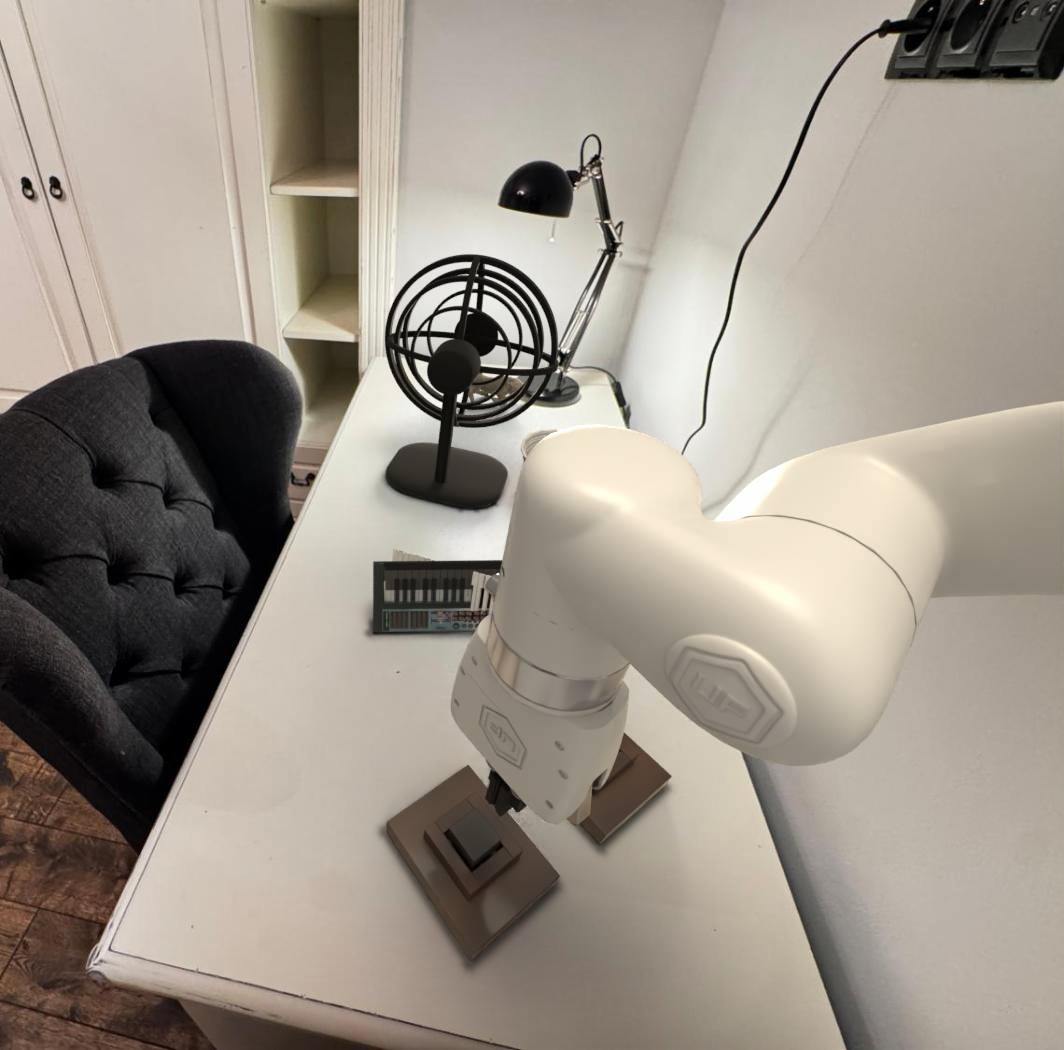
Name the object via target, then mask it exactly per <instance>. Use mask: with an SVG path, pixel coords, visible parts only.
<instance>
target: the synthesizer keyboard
mask: <svg viewBox="0 0 1064 1050" xmlns="http://www.w3.org/2000/svg"><path fill="white" fill-rule="evenodd" d="M501 565H502V559H488V560H487V559H486V560H485V559H484V560H483V559H478V560H477V559H476V560H473V559H471V560H468V559H467V560H434V559H431V558H427V557H425V556H420V555H417V554H413V553H409V552H406V551H402V550H398V549H396V548H395V549H393V551H392V560H384V561H383V560H382V561H381V560H380V561H379V560H376V561H374V560H373V561H372V603H373V604H372V615H373V616H372V633H423V632H424V633H428V632H429V633H431V632H432V633H433V632H437V633H439V632H440V633H441V632H442V633H443V632H475V631H476V629H477V627H478V625H479V624H480V622H481V621H482V620H483V619H484V618H485V617H486V616H488V615H490V614H492V610H493V605H494V602H493V599H492V595H491V594H490V593H488V592H487V591H486V590H485V585H486V582H487V581H488V579H489V578H490V577H491V576H493V575H494V574H497V573H499V574H500V570H501Z"/></svg>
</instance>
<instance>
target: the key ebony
mask: <svg viewBox="0 0 1064 1050" xmlns="http://www.w3.org/2000/svg"><path fill="white" fill-rule="evenodd" d="M448 838H449V839H450V840H451V842H452V843H453V844H454V846H455V847H456V849H457V850H458V851H459V853H460V854H461V856H462V857H463V858H464V860H465V861H466V862H467V864H468V865H469V867H470V868H471V869H472V868H473V867H475V866H476V865H477V864H478V863H480V862H481V861H482V860H483V859H485V858H486V857H487V856H488V855H490V854H491V853H492V852H493V851H494V850H496V849H497V848H498V847H499V845H500V842H501V840H502V839H501V837H500V836H499V835H498V834H497V832H496V831H495V830H494V829H493V827H492V826H491V825H490V824H489V822H488V821H487V820H486V818H485V817H484V816H483V815H482V813H481V812H480V811H479V810H478V808H475V809H474V810H472V811H471V812H470V813H468V814H467V815H466V816H464V817H463V818H462V819H460V820H459V821H458V822H456V823H455V824H454V825H452V826H451V827H450V828H449V831H448Z"/></svg>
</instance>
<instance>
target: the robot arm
mask: <svg viewBox="0 0 1064 1050" xmlns="http://www.w3.org/2000/svg"><path fill="white" fill-rule="evenodd" d="M559 430H560V431H557V432H555V433H552V434H550V435H548V436H547V437H545V438H544V439H542V440H541V441H540V442H538V443H537V444H536V445H535V446H534V447H533V449H532V450H531V451H530V452H529V454H528V455H527V457H526V459H525V461H524V460H523V462H524V463H523V462H522V465H521V469H520V472H519V476H518V480H517V483H516V489H515V494H514V500H513V504H512V510H511V514H510V520H509V524H508V529H507V535H506V540H505V544H504V549H503V553H502V554H503V555H502V559H501V560H502V565H501V570H500V574H499V573H497V574H494V575H493V576H491V577H490V578H489V579H488V581H487V582H486V585H485V590H486V591H487V592H488V593H490V594H491V595H492V599H493V602H494V605H493V610H492V614H490V615H488V616H486V617H485V618H484V619H483V620H482V621H481V622H480V624H479V625H478V627H477V629H476V631H473V634H472V636H471V637H470V640H469V642H468V644H467V646H466V648H465V649H464V651H463V655H462V657H461V659H460V662H459V665H458V668H457V671H456V672H457V673H456V676H455V678H454V682H453V687H452V692H451V697H450V713H451V717H452V718H453V721H454V723H455V724H456V726H457V727H458V729H459V730H460V731H461V732H462V734H463V735H464V736H465V737H466V738H467V740H468V741H469V742H470V743H471V744H472V745H473V747H474V748H475V749H476V750H477V751H478V752H479V753H480V755H481V756H482V757H483V758H484V759H485V762H486V764H487V766H488V768H489V772H488V773H489V774H488V777H487V780H488V781H489V782H488V786H487V788H488V789H487V793H486V797H485V799H486V800H487V802H488V803H489V804H492V805H495V806H494V807H495V811H496V812H497V814H498V815H499V816H500V817H501V816H502V815H504V814H505V813H506V812H508V813H509V811H511V809H513V810H514V811H515V812H516V813H517V814H518V813H520V812H521V811H523V810H524V809H525V808H527V807H528V808H529V809H530V810H531V811H532V812H533V813H534V814H535V815H536V816H537V817H538V818H540V819H541V820H543V821H545V822H546V823H548V824H551V825H559V824H560V823H562V822H564V821H565V820H567V821H568V822H569V823H570V824H571V825H573V826H575V827H576V826H578V825H580V822H582V821H583V820H584V819H585V818H586V817H587V816H589V815H590V810H591V794H592V789H595V790H598V789H600V788H601V787H602V786H603V785H604V783H605V782H606V780H607V778H608V776H609V774H610V772H611V770H612V767H613V765H614V762H615V760H616V757H617V754H618V751H619V748H620V745H621V741H622V738H623V734H624V733H625V730H626V724H627V719H628V711H629V699H630V688H629V686H628V685H627V683H626V682H625V681H624V679H625V677H626V675H627V672H628V670H629V668H630V666H631V667H633V669H634V670H636V672H638V673H639V674H640V675H641V676H642V677H643V678H644V679H645V680H646V681H647V682H648V683H649V684H650V685H651V686H652V687H653V688H654V689H655V690H656V691H657V692H658V693H659V694H661V695H662V696H663V697H664V698H665V699H666V700H667V701H668V702H669V703H670V704H671V705H672V706H673V707H675V708H676V709H677V710H678V711H679V712H680V713H682V714H683V715H684V716H685V717H687V719H689V720H690V721H691V722H693V723H694V724H695V725H696V726H698V727H699V728H701V730H703V731H705V732H706V733H708V734H710V735H711V736H712V737H714V738H715V739H717V740H718V741H720V742H722V743H724V744H725V745H727V746H729V747H731V748H733V749H735V750H737V751H739V752H741V753H743V754H744V755H745V754H746V755H747V756H749V757H752V758H756V759H759V760H762V761H765V762H768V763H772V764H778V765H784V766H792V767H801V766H803V767H806V766H817V765H822V764H826V763H827V764H828V763H831V762H833V761H836V760H838V759H840V758H843V757H844V756H846V755H848V754H850V753H851V752H853V751H855V749H857V748H858V747H859V746H860V745H861V744H862V743H863V742H864V741H865V740H867V739H868V737H869V736H870V735H871V734H872V733H873V731H874V730H875V728H876V727H877V725H878V724H879V722H880V720H881V718H882V717H883V715H884V713H885V711H886V709H887V707H888V704H889V703H890V700H891V697H892V695H893V692H894V690H895V687H896V684H897V682H898V679H899V677H900V674H901V672H902V669H903V667H904V664H905V662H906V659H907V657H908V653H909V652H910V649H911V647H912V646H913V642H914V641H915V638H916V635H917V633H918V630H919V627H920V625H921V623H922V620H923V618H924V614H925V612H926V609H927V607H928V605H929V604H928V603H929V602H930V599H939V598H958V597H959V598H965V597H967V598H968V597H995V596H996V597H997V596H998V597H1000V596H1001V597H1003V596H1064V400H1060V401H1053V402H1046V403H1040V404H1039V403H1038V404H1033V405H1028V406H1021V407H1015V408H1009V409H1004V410H1000V411H999V410H998V411H994V412H989V413H984V414H978V415H973V416H968V417H964V418H963V417H962V418H959V419H952V420H949V421H948V420H947V421H945V422H940V423H936V424H930V425H925V426H920V427H916V428H911V429H906V430H901V431H897V432H891V433H887V434H883V435H878V436H873V437H869V438H864V439H859V440H855V441H850V442H846V443H842V444H838V445H834V446H830V447H826V448H822V449H818V450H816V451H813V452H810V453H807V454H804V455H801V456H798V457H795V458H793V459H790V460H788V461H786V462H784V463H781V464H779V465H777V466H776V467H772V468H771V469H769V470H767V471H765V472H764V473H763V474H761V475H760V476H758V477H756V478H755V479H753V481H751V483H749V484H748V485H747V486H746V487H745V488H744V489H742V490H741V492H739V493H738V494H737V495H736V496H735V497H734V498H733V499H732V500H731V502H729V503H728V504H727V506H726V507H724V509H723V510H722V511H721V512H720V513H719V515H718V516H717V517H716V518H715V519H711V518H708V517H707V516H705V515H704V514H703V512H702V506H703V486H702V483H701V480H700V476H699V474H698V472H697V471H696V469H695V467H694V466H693V465H692V463H691V462H690V461H689V460H688V459H687V458H686V457H685V456H684V455H682V453H681V452H679V451H678V450H677V449H675V447H673V446H671V445H670V444H668V443H666V442H664V440H660V439H659V438H656V437H654V436H652V435H649V434H646V433H643V432H641V431H638V430H633V429H629V428H627V427H621V426H614V425H605V424H603V425H602V424H585V425H583V424H582V425H577V426H571V427H567V428H563V429H559Z"/></svg>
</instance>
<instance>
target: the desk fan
mask: <svg viewBox="0 0 1064 1050" xmlns="http://www.w3.org/2000/svg"><path fill="white" fill-rule="evenodd" d="M458 263H471V264H470V267H461V268H457V269H453V270H450V271H447V272H444V273H442V274H440V275H438V276H436V277H435V278H433V279H432V280H430V282H428V283H427V284H426V285H425V286H424V287H422V289H421V290H419V291H418V292H417V293H416V294H415V295H414V296H413V297H412V298H411V299H410V300H409V302H408V303H407V304H406V306H405V307H404V309H403V310H402V312H401V313H400V316H399V318H398V321H397V324H396V327H395V331H394V332H393V327H394V326H393V325H394V321H395V316H396V313H397V310H398V308H399V306H400V303H401V302H402V300H403V299H404V296H405V295H406V294H407V292H408V291H409V289H411V287H412V286H413V285H414V284H415V283H416V282H417V281H418V280H419V279H421V278H422V277H423V276H425V275H426V274H428V273H430V272H432V271H434V270H436V269H439V268H441V267H444V266H449V265H453V264H458ZM486 266H490V267H494V268H496V269H499V270H501V271H504V272H506V273H507V274H509V275H510V276H511V277H513V278H515V279H516V280H518V281H519V282H520V283H521V284H522V285H524V286H525V287H526V288H527V290H529V292H531V294H532V295H533V296H534V298H535V299H536V300H537V302H538V303H539V306H540V307H541V309H542V311H543V314H544V316H545V319H546V322H547V326H548V328H549V334H550V354H549V353H547V352H545V351H544V348H545V332H544V325H543V321H542V319H541V315H540V312H539V310H538V308H537V306H536V304H535V302H534V300H533V299H532V298H531V296H529V294H528V292H527V291H525V290H524V289H523V287H522V286H520V285H519V284H518V283H517V282H516V281H514V280H513V279H511V278H509V277H508V276H506V275H504V274H502V273H501V272H498V271H495V270H491V269H487V268H486ZM486 277H488V278H486ZM489 278H491V279H489ZM492 279H493V280H492ZM494 279H495V280H497V281H499V282H500V283H499V282H497V281H495V280H494ZM453 283H465V287H464V288H465V289H462V290H458V291H456V292H454V293H452V294H450V295H448V296H447V297H446V298H444V299H443V300H442V301H441V302H440V303H439V304H438V305H437V306H436V307H435V309H434V310H433V312H432V313H431V314H430V315H428V316H427V317H426V318H425V319H424V320H423V321H422V323H421V324H420V325H419V326H418V327H417V329H416V330H409V326H410V321H411V317H412V315H413V312H414V310H415V308H416V306H417V304H418V302H419V301H420V300H421V298H422V297H423V296H424V295H426V293H428V292H430V291H432V290H434V289H436V288H439V287H441V286H444V285H447V284H453ZM501 283H503V284H504V285H505V286H504V285H502V284H501ZM475 284H477V288H474V285H475ZM506 286H507V287H509V288H510V289H512V291H511V290H510V289H508V288H507V287H506ZM485 287H488V288H490V289H493V290H494V291H496V292H498V293H499V294H501V295H503V296H504V297H505V298H506V299H508V300H509V301H510V302H511V303H512V304H513V305H514V306H515V307H516V308H517V309H518V310H519V312H520V313H521V315H522V317H523V318H524V319H525V321H526V324H527V326H528V329H529V332H530V334H531V338H532V344H533V347H530V346H528V345H523V339H524V336H523V334H524V333H523V327H522V323H521V320H520V318H519V316H518V313H517V312H516V311H515V308H513V306H512V305H511V304H510V303H509V302H508V301H507V300H505V299H504V298H503V297H502V296H500V295H499V294H497V293H495V292H492V291H490V290H487V289H485ZM513 291H514V292H515V293H516V294H517V295H518V296H519V297H520V298H521V299H520V298H519V297H518V296H517V295H516V294H515V293H514V292H513ZM472 294H476V306H475V307H473V306H472V307H471V306H470V302H471V298H472V297H471V296H472ZM462 295H463V298H462V303H461V305H453V306H446V307H443V306H444V305H445V304H446V303H447V302H448V301H450V300H452V299H453V298H456V297H458V296H462ZM484 296H488V297H491V298H492V299H494V300H496V301H497V302H499V303H500V304H501V305H503V306H504V307H505V309H507V310H508V312H509V313H510V314H511V316H512V318H513V320H514V322H515V324H516V328H517V332H518V333H517V334H518V343H516V342H512V341H510V340H509V338H508V336H507V334H506V331H505V330H504V329H503V327H502V326H501V325H500V323H499V322H497V320H496V319H495V318H494V317H492V316H491V315H490V314H488V313H486V312H484V311H483V307H484ZM547 299H548V298H547V297H546V295H544V293H543V291H542V290H541V288H539V286H538V285H537V284H536V283H535V282H534V281H533V280H532V279H531V277H529V276H528V275H527V274H525V273H524V272H523V271H522V270H520V269H519V268H517V267H516V266H514V265H512V264H511V263H509V262H506V261H504V260H502V259H500V258H496V257H493V256H489V255H485V254H475V253H474V254H472V253H467V254H463V253H462V254H455V255H451V256H447V257H444V258H441V259H438V260H436V261H433V262H431V263H429V264H428V265H426V266H424V267H423V268H421V269H420V270H418V271H417V272H416V273H415V274H414V275H413V276H412V277H410V278H409V280H408V281H406V282H405V284H404V285H403V286H402V287H401V288H400V290H399V291H398V293H397V294H396V296H395V298H394V300H393V302H392V304H391V306H390V308H389V312H388V315H387V318H386V322H385V329H384V347H385V355H386V359H387V364H388V366H389V370H390V372H391V375H392V377H393V379H394V381H395V382H396V384H397V386H398V387H399V389H400V391H401V392H402V393H403V394H404V396H405V397H406V398H407V399H408V400H409V401H410V402H411V403H412V404H413V405H414V406H415V407H416V408H417V409H418V410H420V411H421V412H423V413H424V414H426V415H427V416H429V417H430V418H433V419H435V420H436V421H439V422H440V423H439V430H438V431H439V432H438V442H427V441H426V442H413V443H409V444H406V445H403V446H401V447H400V448H399V449H398V450H397V451H396V453H395V454H394V456H393V457H392V459H391V461H389V463H388V465H387V467H386V469H385V478H386V480H387V482H388V483H389V484H390V485H391V486H392V487H394V488H395V489H396V490H398V491H400V492H402V493H405V494H407V495H410V496H414V497H418V498H422V499H426V500H431V501H434V502H438V503H441V504H442V503H443V504H447V505H450V506H453V507H460V508H470V509H471V508H483V507H487V506H491V505H493V504H494V503H496V502H497V501H499V499H500V497H501V494H502V491H503V489H504V487H505V484H506V482H507V479H508V475H509V473H508V468H507V467H506V466H505V464H504V463H502V462H501V461H500V460H498V459H497V458H495V457H493V456H490V455H489V454H485V453H481V452H478V451H474V450H470V449H465V448H460V447H457V446H456V447H455V446H452V444H453V443H452V442H453V435H454V429H455V428H466V429H482V428H490V427H494V426H495V427H496V426H498V425H502V424H504V423H507V422H509V421H512V420H513V419H515V418H517V417H519V416H520V415H522V414H523V413H525V411H527V410H528V409H530V408H531V407H532V406H533V405H534V404H535V402H536V401H537V400H538V399H539V398H540V397H541V395H542V394H543V392H544V391H545V389H546V388H547V386H548V384H549V381H550V380H551V378H552V375H553V374H554V373H556V372H557V371H558V370H559V369H558V368H559V364H560V362H559V360H558V359H557V358H558V351H559V334H558V326H557V322H556V318H555V315H554V311H553V310H552V307H551V305H550V303H549V301H548V300H547ZM522 300H523V301H522ZM523 302H524V303H525V304H526V306H525V304H524V303H523ZM442 307H443V308H442ZM527 307H528V308H527ZM453 311H455V312H456V311H459V312H460V316H459V320H458V321H457V323H456V326H455V327H454V331H453V332H452V331H440V330H432V326H433V322H434V319H435V317H437V316H439V315H442V314H444V313H448V312H453ZM427 323H428V324H427ZM426 324H427V329H426V330H422V329H423V328H424V326H425V325H426ZM499 335H500V336H501V338H502V339H499ZM409 338H412V341H411V344H410V346H409ZM418 338H426V344H427V349H428V352H429V355H427V354H423V353H419V352H416V351H415V349H416V344H417V340H418ZM431 338H437V339H438V338H439V339H448V340H445V341H443V342H442V343H441V344H439V345H438V347H437V348H436V349H435V351H434V349H433V346H432V339H431ZM401 341H402V342H401ZM400 343H402V344H400ZM401 345H402V346H401ZM496 347H502V348H506V352H507V368H505V367H495V366H485V365H482V360H481V358H482V357H484V356H487V355H489V354H491V352H492V351H494V349H495V348H496ZM512 350H513V351H516V354H515V355H514V359H513V354H512ZM521 352H522V353H525V354H528V355H531V356H533V359H532V360H533V362H532V366H531V368H513V367H514V366H515V364H516V363H517V361H518V359H519V356H520V355H521ZM402 355H403V356H404V359H405V362H406V364H407V367H408V369H409V371H410V373H411V375H412V377H413V378H414V380H415V381H416V382H417V383H418V385H419V386H420V387H421V388H422V389H423V390H424V391H425V392H426V393H427V394H428V395H429V396H430V397H432V398H433V399H435V401H436V400H437V401H438V402H440V403H441V404H442V405H441V407H440V406H438V405H435V404H434V403H433V402H431V401H429V400H428V399H427V398H425V396H424V395H422V394H421V393H420V392H419V390H418V389H417V388H416V387H415V386H414V384H413V383H412V381H411V380H410V378H409V376H408V374H407V372H406V370H405V367H404V364H403V360H402ZM416 360H417V361H420V362H424V363H428V364H427V368H426V376H427V380H428V382H429V384H430V385H431V386H432V387H431V386H430V385H429V384H428V383H427V382H426V381H425V379H424V378H423V377H422V376H421V374H420V372H419V371H418V368H417V364H416ZM542 360H543V361H545V362H546V363H548V366H544V367H540V365H541V361H542ZM479 373H482V374H487V375H488V374H489V375H496V376H493V377H494V378H492V379H489V380H485V381H474V380H475V379H476V377H477V376H478V374H479ZM503 376H505V377H504V380H503V381H502V383H501V384H500V386H499V387H498V388H497V389H496V390H495V391H494V392H493V393H492V394H489V396H487V397H484V398H482V399H478V400H475V402H471V401H469V402H468V400H469V397H468V396H469V391H470V386H471V385H485V384H489V383H492V382H494V381H496V380H498V379H500V378H502V377H503ZM509 376H512V377H527V378H526V379H525V381H524V382H522V383H523V384H522V385H521V386H520V387H519V388H518V389H517V390H516V391H514V392H513V393H511V394H510V395H509V394H508V395H506V397H505V398H503V399H500V400H498V401H495V402H493V401H492V402H491V401H490V400H491V398H495V396H497V395H496V394H497V393H498V392H499V391H500V390H501V389H502V387H503V386H504V384H505V383H506V381H507V379H508V377H509ZM539 376H544V378H543V380H542V382H541V384H540V385H539V386H538V388H537V389H536V391H535V392H533V394H532V395H531V396H530V397H529V398H528V399H526V401H525V402H524V403H522V404H521V405H520V406H518V407H517V408H515V409H514V410H512V411H510V412H508V413H507V414H504V415H501V414H503V413H505V412H507V411H508V410H510V409H511V408H513V407H514V406H515V405H516V404H517V403H518V402H520V400H522V398H524V397H523V396H524V394H525V395H526V393H527V392H528V390H529V389H530V387H531V385H532V383H533V381H534V379H535V377H539ZM461 394H462V397H461V401H458V395H461ZM488 401H490V402H488ZM486 402H487V403H486ZM505 403H507V404H506V405H504V406H502V407H500V405H503V404H505ZM497 407H499V408H497ZM494 408H496V409H494ZM458 409H459V410H458ZM490 409H494V410H491V411H488V412H484V413H479V414H466V413H465V412H466V411H484V410H490ZM499 415H501V416H499ZM496 416H498V417H496Z"/></svg>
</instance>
